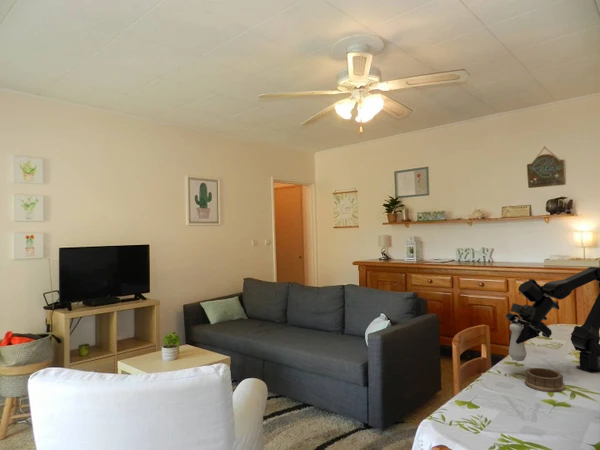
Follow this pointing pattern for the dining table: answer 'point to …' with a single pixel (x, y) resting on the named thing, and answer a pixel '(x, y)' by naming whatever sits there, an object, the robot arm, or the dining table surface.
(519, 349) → the salt shaker
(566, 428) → the dining table surface
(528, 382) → the collar stand
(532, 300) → the robot arm
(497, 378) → the dining table surface
